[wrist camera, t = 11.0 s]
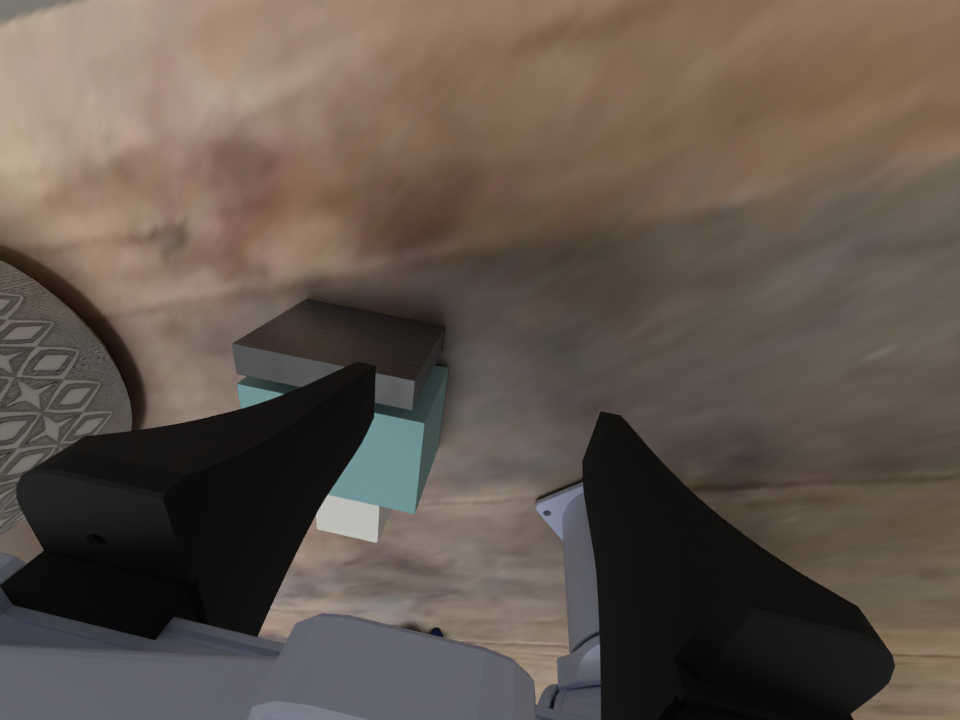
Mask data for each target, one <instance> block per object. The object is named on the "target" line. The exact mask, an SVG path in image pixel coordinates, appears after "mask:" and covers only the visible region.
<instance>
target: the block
mask: <svg viewBox="0 0 960 720" xmlns="http://www.w3.org/2000/svg"><path fill="white" fill-rule="evenodd" d="M448 370H449V368H447V367H442V366H437V365H435V366H434V368H433V370H432V372H431V374H430V376H429V378H428V380H427V382H426V384H425V386H424V388H423V390H422V392H421V394H420V396H419V398H418V400H417V402H416V404H415V406H414V408H413V410H408V409H403V408H398V407H394V406H389V405H384V404H379V403H375V410H374V419H373V421H372V423H371V426H370V428H369V430H368V432H367V434H366V436H365V438H364V440H363V442H362V444H361V445H360V447H359V449H358V450H357V452H356V453H355V455H354V456H353V458H352V459H351V461H350V462H349V464H348V465H347V467H346V468H345V470H344V471H343V473H342V474H341V476H340V477H339V479H338V480H337V482H336V483H335V485H334V486H333V488H332V489H331V491H330V492H329V494H328V495H331V496H336V497H340V498H345V499H349V500H354V501H358V502H363V503H367V504H372V505H376V506H381V507H385V508H390V509H394V510H399V511H403V512H408V513H412V514H415V512H416V509H417V506H418V503H419V501H420V498H421V495H422V492H423V489H424V486H425V484H426V481H427V478H428V475H429V472H430V469H431V467H432V464H433V461H434V458H435V455H436V452H437V450H438V445H439V438H440V430H441V423H442V415H443V408H444V400H445V392H446V385H447V377H448ZM237 388H238V394H239V400H240V406H241V409H243V408H246V407H249V406H252V405H255V404H258V403H261V402H264V401H267V400H270V399H273V398H276V397H278V396H281V395H283V394H285V393H288V392H290V391H293V390H295V389H298V388H300V387H298V386H293V385H288V384H284V383H279V382H274V381H269V380H264V379H260V378H255V377H250V376H247V377H246V378H244V379H243V380H241V381H240V382H239V383H237Z"/></svg>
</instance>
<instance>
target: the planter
mask: <svg viewBox="0 0 960 720" xmlns="http://www.w3.org/2000/svg"><path fill="white" fill-rule="evenodd" d="M131 428H132V411H131V403H130V400H129V396H128V393H127V389H126V386H125V384H124V382H123V380H122V378H121V375H120V372H119V370H118V368H117V366H116V363H115V361H114V360H113V358H112V356H111V355H110V353H109V351H108V350H107V348H106V346H105V345H104V344H103V342H102V341H101V340H100V338H99V337H98V336H97V334H96V333H95V332H94V331H93V330H92V329H91V328H90V326H89V325H88V324H87V323H86V322H85V321H84V320H83V319H82V318H81V317H80V316H79V315H78V314H77V313H76V312H75V311H73V310H72V309H71V308H70V307H69V306H68V305H67V304H65V303H64V302H63V301H61V300H60V299H59V298H57V297H56V296H55V295H54V294H52V293H51V292H50V291H48V290H47V289H46V288H44V287H43V286H42V285H41V284H39V283H38V282H37V281H35V280H34V279H32V278H31V277H29V276H27V275H26V274H24V273H23V272H21V271H20V270H18V269H16V268H15V267H13V266H11V265H9V264H7V263H5V262H3V261H1V260H0V536H1V535H3V534H4V533H6V532H7V531H8V530H10V529H11V528H12V527H14V526H16V525H17V524H19V523H20V522H21V521H23V520H24V519H26V518H25V516H24V514H23V512H22V511H21V508H20V506H19V503H18V501H17V498H16V486H17V483H18V481H19V479H20V477H21V475H23V474H24V473H26V472H28V471H29V470H31V469H33V468H34V467H36V466H37V465H39V464H41V463H42V462H44V461H45V460H47V459H49V458H50V457H52V456H54V455H55V454H57V453H58V452H60V451H62V450H63V449H65V448H66V447H68V446H70V445H71V444H73V443H75V442H76V441H78V440H79V439H81V438H83V437H85V436H91V435H101V434H109V433H118V432H127V431H131Z"/></svg>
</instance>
